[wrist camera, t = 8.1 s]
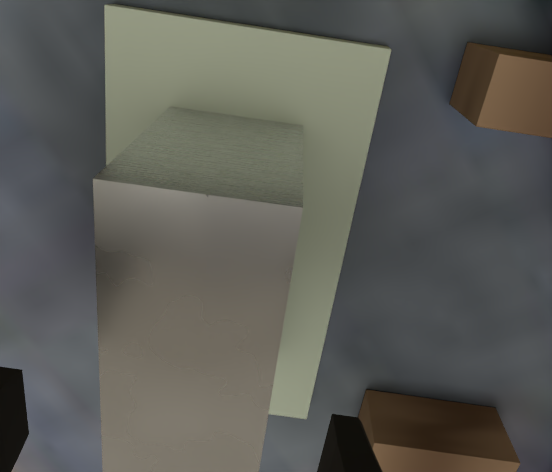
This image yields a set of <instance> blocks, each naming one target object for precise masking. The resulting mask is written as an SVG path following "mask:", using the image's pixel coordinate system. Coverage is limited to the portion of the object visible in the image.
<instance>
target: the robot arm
mask: <svg viewBox="0 0 552 472" xmlns="http://www.w3.org/2000/svg"><path fill="white" fill-rule="evenodd" d="M28 435H29V430H28V421H27V412H26V402H25V393H24V384H23V375H22V370H19V369H12V368H5V367H0V472H11V471H12V469H13V467H14V465H15V463H16V461H17V459H18V457H19V454H20V452H21V450H22V448H23V446H24V443H25V441H26V439H27V437H28ZM317 472H383V471H382V469H381V467H380V465H379V463H378V460H377V458H376V456H375V454H374V451H373V449H372V447H371V444H370V442H369V440H368V437H367V435H366V432H365V430H364V427H363V424H362V422H361V421H360V419H359V418H357V417H350V416H343V415H336V414H332V417H331V420H330V424H329V428H328V432H327V436H326V440H325V444H324V447H323V451H322V455H321V459H320V463H319V467H318V471H317Z"/></svg>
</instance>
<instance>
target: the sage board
mask: <svg viewBox="0 0 552 472" xmlns="http://www.w3.org/2000/svg"><path fill="white" fill-rule="evenodd" d="M390 53H391V49H390V48H389V47H387V46H381V45H375V44H368V43H362V42H355V41H349V40H342V39H336V38H330V37H323V36H317V35H310V34H304V33H297V32H291V31H285V30H278V29H272V28H265V27H259V26H252V25H246V24H240V23H233V22H227V21H220V20H214V19H207V18H201V17H195V16H188V15H182V14H175V13H169V12H162V11H156V10H150V9H143V8H137V7H130V6H124V5H117V4H108V5H105V99H106V166H107V165H108V164H109V163H110V162H111V161H112V160H113V159H114V158H116V157H117V156H118V155H119V154H120V153H121V152H122V151H123V150H124V149H125V148H126V147H127V146H128V145H129V144H130V143H131V142H133V141H134V140H135V139H136V138H137V137H138V136H139V135H140V134H141V133H142V132H143V131H144V130H145V129H146V128H147V127H148V126H150V125H151V124H152V123H153V122H154V121H155V120H156V119H157V118H158V117H159V116H160V115H161V114H162V113H163V112H164V111H165V110H167V109H168V108H169V107H170V106H171V107H178V108H185V109H192V110H199V111H206V112H213V113H221V114H228V115H235V116H242V117H249V118H256V119H263V120H270V121H277V122H284V123H291V124H298V125H303V211H302V217H301V223H300V229H299V235H298V241H297V247H296V253H295V259H294V265H293V271H292V277H291V282H290V288H289V294H288V300H287V306H286V312H285V318H284V324H283V330H282V336H281V342H280V348H279V354H278V360H277V366H276V372H275V378H274V383H273V389H272V395H271V401H270V407H269V413H268V414H273V415H280V416H287V417H294V418H301V419H307V415H308V410H309V406H310V402H311V397H312V393H313V388H314V384H315V380H316V375H317V371H318V367H319V362H320V358H321V354H322V349H323V345H324V341H325V336H326V332H327V328H328V323H329V319H330V315H331V310H332V306H333V301H334V297H335V293H336V288H337V284H338V280H339V275H340V271H341V267H342V262H343V258H344V254H345V249H346V245H347V241H348V236H349V232H350V228H351V223H352V219H353V214H354V210H355V206H356V201H357V197H358V193H359V188H360V184H361V180H362V175H363V171H364V167H365V162H366V158H367V154H368V149H369V145H370V140H371V136H372V132H373V127H374V123H375V119H376V114H377V110H378V106H379V101H380V97H381V93H382V88H383V84H384V80H385V75H386V71H387V67H388V62H389V58H390Z"/></svg>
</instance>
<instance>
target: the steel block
mask: <svg viewBox="0 0 552 472" xmlns="http://www.w3.org/2000/svg"><path fill="white" fill-rule="evenodd" d="M93 197H94V227H95V256H96V286H97V315H98V345H99V374H100V404H101V433H102V463H103V472H259V467H260V461H261V455H262V449H263V443H264V437H265V431H266V425H267V419H268V413H269V407H270V401H271V395H272V389H273V383H274V378H275V372H276V366H277V360H278V354H279V348H280V342H281V336H282V330H283V324H284V318H285V312H286V306H287V300H288V294H289V288H290V282H291V277H292V271H293V265H294V259H295V253H296V247H297V241H298V235H299V229H300V223H301V217H302V211H303V125H298V124H291V123H284V122H277V121H270V120H263V119H256V118H249V117H242V116H235V115H228V114H221V113H213V112H206V111H199V110H192V109H185V108H178V107H171V106H170V107H169V108H168V109H167V110H165V111H164V112H163V113H162V114H161V115H160V116H159V117H158V118H157V119H156V120H155V121H154V122H153V123H152V124H151V125H150V126H148V127H147V128H146V129H145V130H144V131H143V132H142V133H141V134H140V135H139V136H138V137H137V138H136V139H135V140H134V141H133V142H131V143H130V144H129V145H128V146H127V147H126V148H125V149H124V150H123V151H122V152H121V153H120V154H119V155H118V156H117V157H116V158H114V159H113V160H112V161H111V162H110V163H109V164H108V165H107V166H106V167H105V168H104V169H103V170H102V171H101V172H100V173H99V174H97V175H96V176H95V177H94V178H93Z"/></svg>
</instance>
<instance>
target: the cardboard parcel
mask: <svg viewBox="0 0 552 472" xmlns="http://www.w3.org/2000/svg"><path fill="white" fill-rule="evenodd" d="M450 105H451V106H452V107H454V108H455V109H456V110H457V111H458V112H460V113H461V114H462V115H463V116H464V117H466V118H467V119H468V120H469V121H470V122H471V123H473V124H474V125H475V126H477V127H483V128H490V129H496V130H503V131H509V132H516V133H522V134H529V135H535V136H542V137H549V138H552V55H547V54H540V53H534V52H527V51H521V50H515V49H508V48H502V47H495V46H489V45H483V44H476V43H470V42H467V46H466V49H465V52H464V56H463V59H462V63H461V66H460V70H459V73H458V76H457V80H456V83H455V87H454V90H453V94H452V97H451V100H450ZM358 418H359V419H360V421H361V422H362V424H363V427H364V430H365V432H366V435H367V437H368V440H369V442H370V444H371V447H372V449H373V451H374V454H375V456H376V458H377V460H378V463H379V465H380V467H381V469H382V471H383V472H516V471H517V469H518V467H519V465H520V461H519V459H518V457H517V455H516V452H515V450H514V448H513V446H512V443H511V441H510V439H509V437H508V435H507V432H506V430H505V428H504V426H503V423H502V421H501V419H500V417H499V415H498V412H497V410H496V408H493V407H486V406H479V405H472V404H465V403H458V402H451V401H444V400H436V399H429V398H422V397H415V396H408V395H401V394H394V393H387V392H380V391H373V390H366V392H365V395H364V398H363V402H362V405H361V409H360V412H359V416H358Z"/></svg>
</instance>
